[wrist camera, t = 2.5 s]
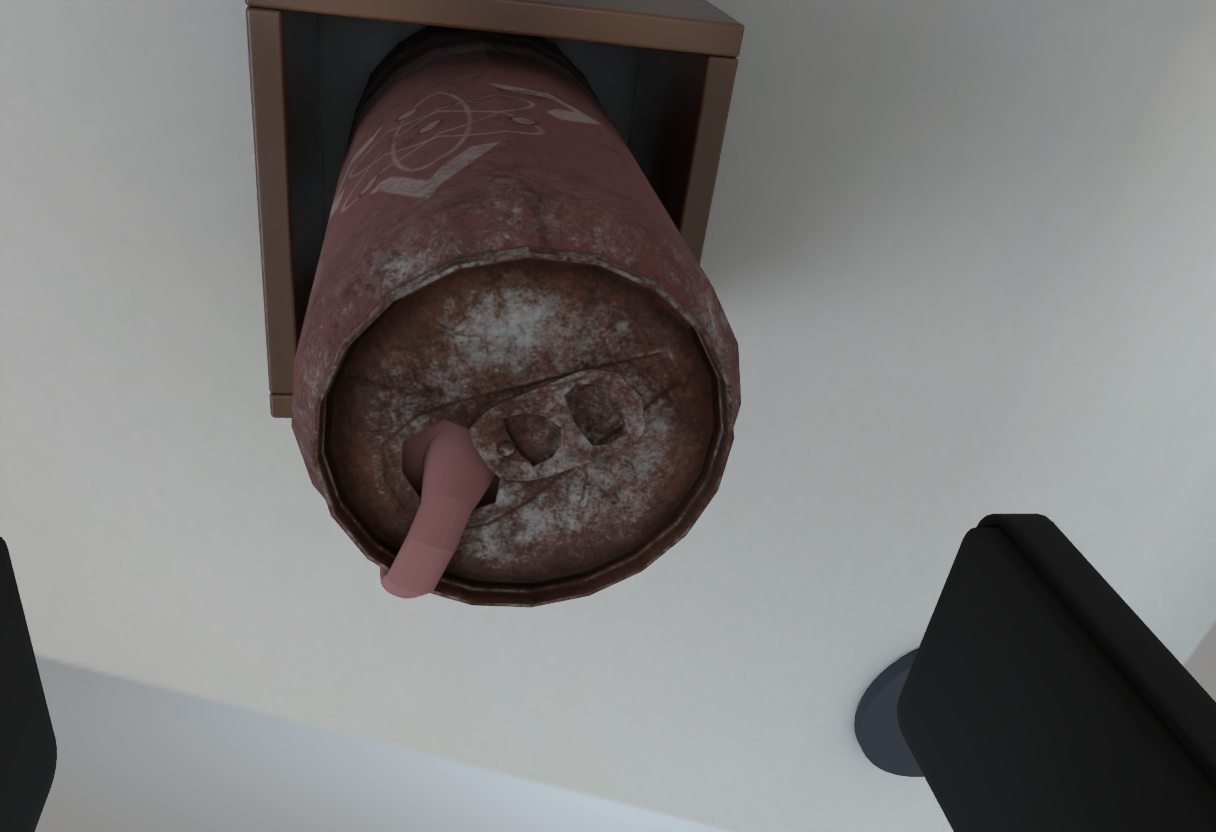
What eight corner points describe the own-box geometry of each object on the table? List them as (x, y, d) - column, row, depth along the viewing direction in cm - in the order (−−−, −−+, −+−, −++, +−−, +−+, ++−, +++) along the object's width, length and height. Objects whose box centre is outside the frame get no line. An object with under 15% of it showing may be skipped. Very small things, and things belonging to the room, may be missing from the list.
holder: (675, -21, 23) (746, 25, 18) (624, 315, 27) (670, 428, 22) (286, -69, 21) (242, -32, 16) (301, 299, 25) (270, 418, 20)
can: (312, 204, 24) (203, 571, 12) (418, -38, 22) (408, 132, 10) (526, 300, 26) (605, 686, 15) (643, 92, 24) (852, 356, 12)
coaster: (1061, 632, 38) (1070, 643, 37) (996, 761, 41) (1004, 772, 41) (883, 636, 36) (889, 648, 36) (833, 769, 40) (839, 782, 39)
